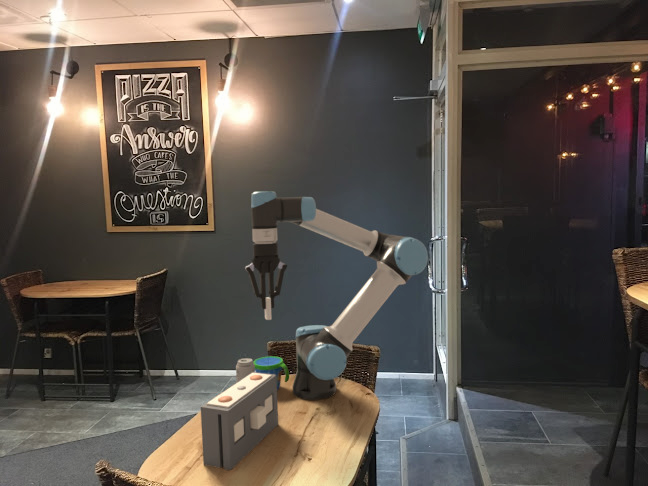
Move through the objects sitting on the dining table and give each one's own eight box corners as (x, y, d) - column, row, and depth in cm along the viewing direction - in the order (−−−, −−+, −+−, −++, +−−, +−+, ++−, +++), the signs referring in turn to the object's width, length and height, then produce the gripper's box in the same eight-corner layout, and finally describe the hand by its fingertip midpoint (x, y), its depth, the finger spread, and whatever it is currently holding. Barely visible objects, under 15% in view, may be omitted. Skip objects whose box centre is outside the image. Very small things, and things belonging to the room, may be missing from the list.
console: (203, 464, 123) (200, 406, 121) (254, 420, 147) (252, 371, 145) (230, 470, 120) (227, 411, 118) (278, 424, 144) (276, 374, 143)
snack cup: (242, 389, 171) (241, 361, 171) (261, 380, 180) (260, 353, 180) (278, 398, 163) (277, 368, 162) (295, 387, 172) (294, 359, 171)
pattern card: (206, 404, 123) (206, 402, 122) (252, 373, 144) (252, 372, 144) (228, 408, 120) (228, 405, 120) (271, 376, 141) (271, 374, 141)
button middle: (249, 427, 129) (248, 412, 129) (257, 420, 134) (257, 405, 133) (258, 429, 129) (257, 413, 128) (266, 422, 133) (265, 406, 132)
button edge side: (226, 440, 123) (225, 424, 123) (235, 432, 127) (234, 416, 127) (234, 442, 122) (234, 425, 122) (244, 434, 126) (243, 418, 126)
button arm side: (257, 414, 138) (256, 399, 137) (264, 408, 142) (264, 393, 141) (265, 415, 137) (264, 400, 136) (272, 409, 141) (272, 394, 140)
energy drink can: (252, 409, 155) (251, 363, 153) (235, 408, 156) (233, 363, 155) (258, 401, 161) (256, 357, 159) (241, 400, 162) (239, 357, 160)
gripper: (246, 244, 141) (249, 324, 143) (289, 242, 145) (291, 319, 147) (241, 242, 148) (244, 318, 150) (282, 240, 152) (285, 314, 154)
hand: (268, 318), depth 148 cm, fingers closed
